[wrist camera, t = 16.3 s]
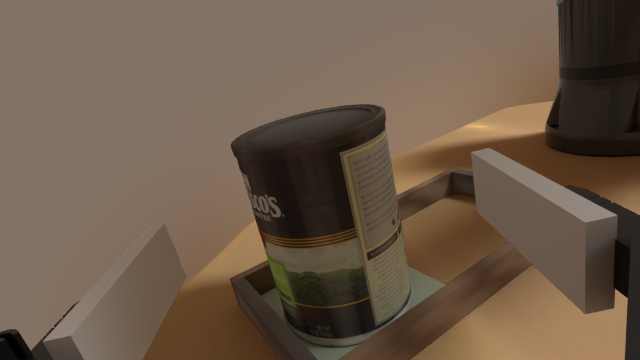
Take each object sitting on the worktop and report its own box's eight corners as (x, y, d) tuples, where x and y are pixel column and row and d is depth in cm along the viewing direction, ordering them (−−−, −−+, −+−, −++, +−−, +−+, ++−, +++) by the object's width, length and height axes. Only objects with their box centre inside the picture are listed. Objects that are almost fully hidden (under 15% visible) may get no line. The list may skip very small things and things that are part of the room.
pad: (360, 244, 37) (360, 241, 37) (466, 298, 27) (465, 294, 27) (255, 301, 32) (254, 298, 32) (335, 396, 22) (333, 392, 21)
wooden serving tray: (453, 187, 45) (451, 168, 44) (591, 218, 32) (591, 192, 32) (238, 303, 32) (229, 278, 32) (328, 422, 20) (317, 388, 19)
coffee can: (308, 373, 23) (242, 160, 19) (271, 290, 32) (222, 135, 28) (445, 307, 26) (417, 107, 21) (375, 248, 35) (345, 100, 31)
